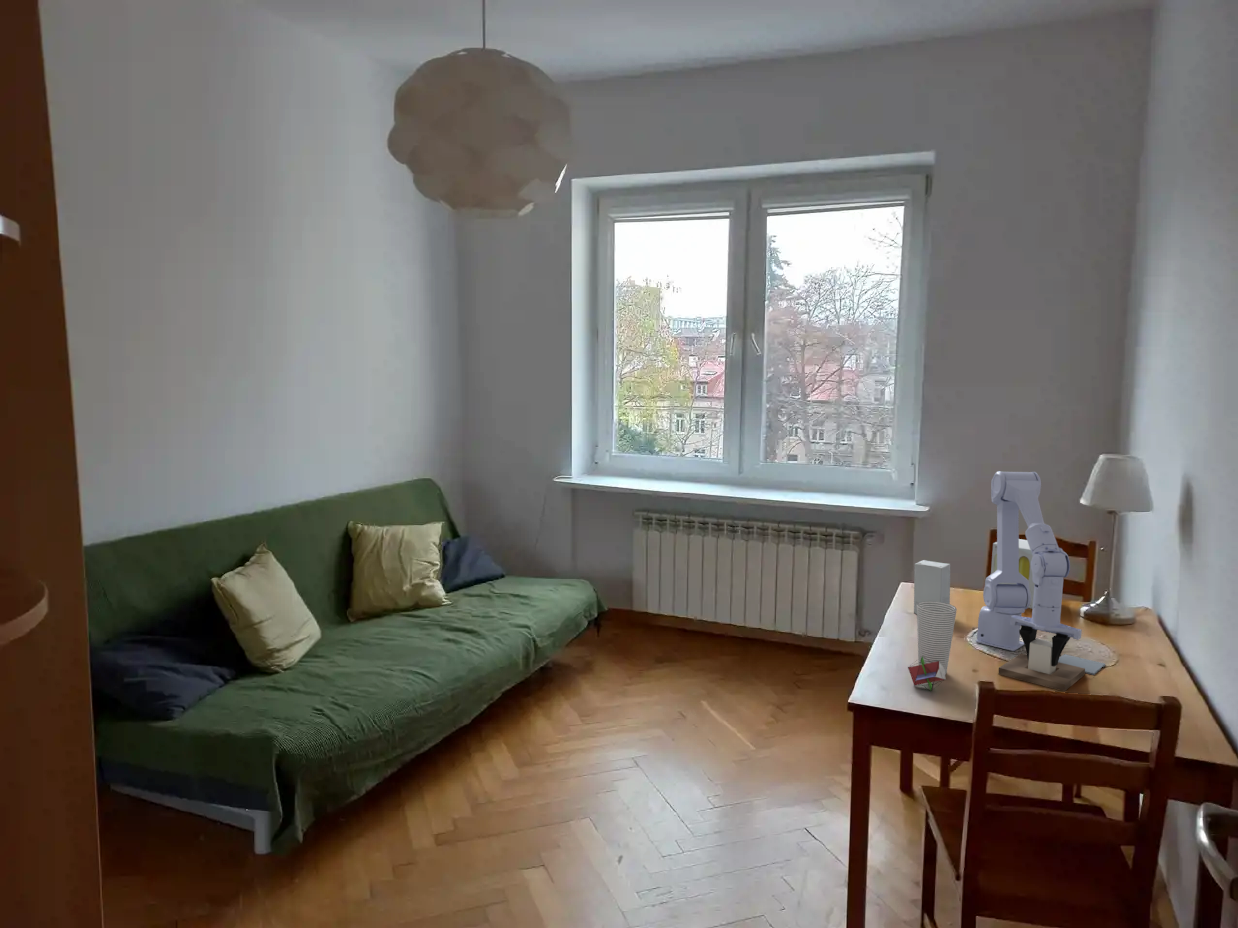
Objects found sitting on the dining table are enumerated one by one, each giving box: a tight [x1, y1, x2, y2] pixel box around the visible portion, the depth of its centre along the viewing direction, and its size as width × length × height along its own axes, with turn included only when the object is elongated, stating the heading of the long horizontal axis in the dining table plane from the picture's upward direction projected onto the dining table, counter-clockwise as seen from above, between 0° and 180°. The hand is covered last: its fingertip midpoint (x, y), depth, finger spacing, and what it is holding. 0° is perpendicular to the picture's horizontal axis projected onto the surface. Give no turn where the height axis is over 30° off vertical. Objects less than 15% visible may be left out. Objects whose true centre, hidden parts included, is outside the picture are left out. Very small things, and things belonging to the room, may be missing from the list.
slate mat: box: [1058, 653, 1106, 676], centre depth 200 cm, size 9×9×1 cm
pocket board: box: [997, 652, 1086, 692], centre depth 193 cm, size 14×14×2 cm
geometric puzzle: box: [907, 656, 947, 693], centre depth 184 cm, size 7×7×8 cm
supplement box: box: [990, 538, 1035, 610], centre depth 253 cm, size 13×13×18 cm
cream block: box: [1028, 637, 1056, 675], centre depth 193 cm, size 4×4×8 cm
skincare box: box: [913, 559, 951, 615], centre depth 237 cm, size 8×6×15 cm
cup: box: [916, 601, 958, 675], centre depth 193 cm, size 8×8×16 cm
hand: (1042, 662), depth 193 cm, fingers closed on cream block, 4 cm apart
